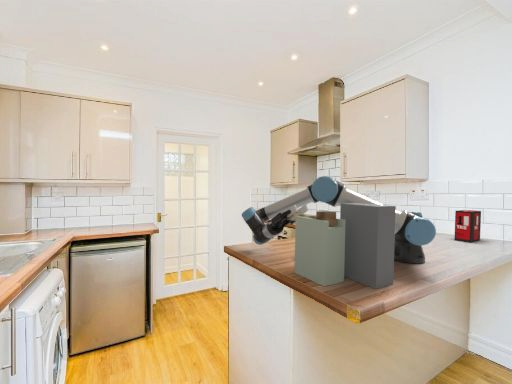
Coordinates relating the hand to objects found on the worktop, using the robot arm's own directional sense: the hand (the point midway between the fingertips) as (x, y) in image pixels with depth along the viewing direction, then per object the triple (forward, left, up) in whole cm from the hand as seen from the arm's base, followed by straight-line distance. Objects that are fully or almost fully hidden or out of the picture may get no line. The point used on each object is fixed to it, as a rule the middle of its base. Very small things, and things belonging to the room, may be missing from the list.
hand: (301, 207), depth 106 cm
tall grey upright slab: (-25, +1, -26) cm, 36 cm away
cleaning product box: (-88, -110, -26) cm, 143 cm away
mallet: (-3, +2, -6) cm, 7 cm away
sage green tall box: (-8, +6, -26) cm, 28 cm away
